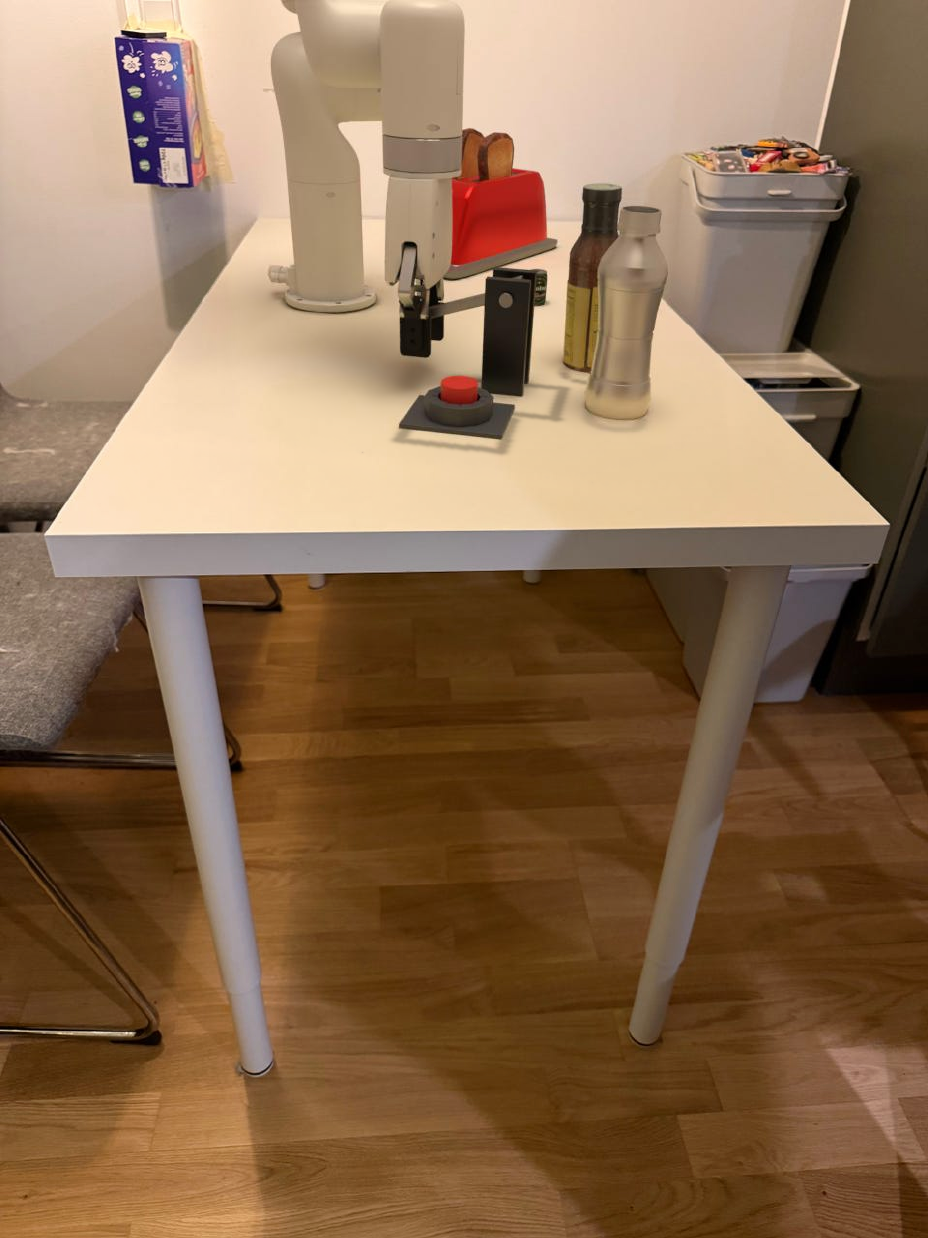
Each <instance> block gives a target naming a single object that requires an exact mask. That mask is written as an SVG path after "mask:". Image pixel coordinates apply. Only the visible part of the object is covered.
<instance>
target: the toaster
mask: <svg viewBox="0 0 928 1238" xmlns="http://www.w3.org/2000/svg"><path fill="white" fill-rule="evenodd" d="M514 144H515V143H514V139H513V138H512V137H511V136H510V135H509V134H508V133H507V132H491V133H490V134H488V135H487V136H485V135H484V134H483V133H482V132H481V131H479V130H477V129H475V128H473V127H468V128H463V129H462V167H461V175H460V176H459V177H453V178H452V191H453V193H452V256H451V264H450V268H449V270H448V271H447V272H446V273H445V275H444V276H443V278H444V279H449V280H455V279H462V278H465V277H469V276H472V275H475V274H479V273H482V272H484V271H485V272H486V271H487V270H491V269H494V268H495V267H501V266H503V265H507V264H510V263H513V262H516V261H519V260H522V259H526V258H528V257H531V256H534V255H537V254H540V253H544V252H546V251H550V250H551V249H554V248H556V246H558V242H559V241H558V239H557V238H551V237H548V221H547V220H548V219H547V218H548V217H547V202H546V201H547V199H546V190H545V183H544V180H543V178H542V175H541V174H540V172H538V171H535V170H529V169H521V168H513V165H514V159H515V145H514Z"/></svg>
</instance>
